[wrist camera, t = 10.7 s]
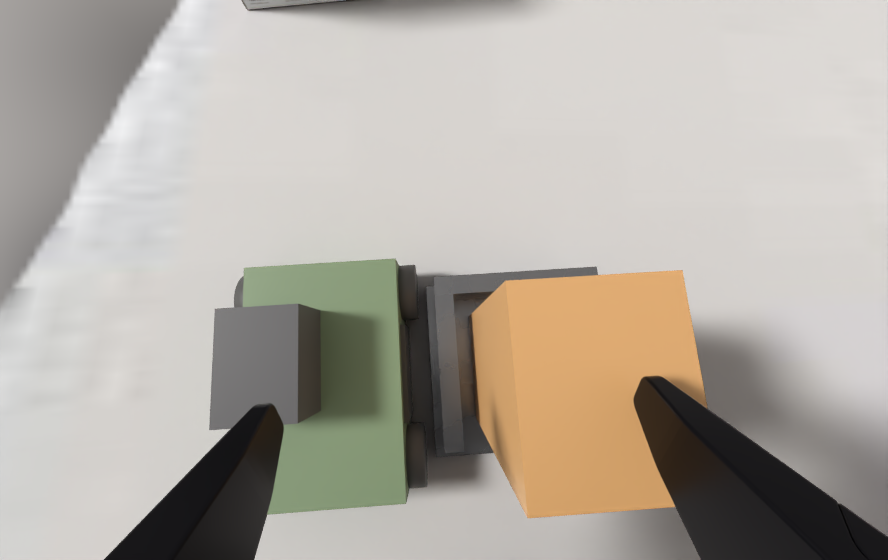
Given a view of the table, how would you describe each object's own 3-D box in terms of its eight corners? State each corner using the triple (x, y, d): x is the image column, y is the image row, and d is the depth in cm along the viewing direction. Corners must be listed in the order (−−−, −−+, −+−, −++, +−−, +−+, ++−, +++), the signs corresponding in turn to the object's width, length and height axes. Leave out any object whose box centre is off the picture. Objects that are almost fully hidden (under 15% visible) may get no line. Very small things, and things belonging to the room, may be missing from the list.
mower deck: (427, 474, 21) (422, 537, 14) (258, 487, 21) (169, 557, 14) (416, 270, 23) (407, 239, 16) (262, 280, 23) (188, 252, 16)
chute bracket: (603, 441, 22) (634, 460, 18) (436, 454, 21) (435, 475, 18) (580, 277, 23) (605, 266, 20) (426, 287, 23) (424, 277, 20)
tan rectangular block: (560, 412, 21) (724, 502, 9) (476, 418, 21) (527, 518, 9) (548, 311, 22) (682, 270, 10) (468, 316, 22) (505, 280, 10)
